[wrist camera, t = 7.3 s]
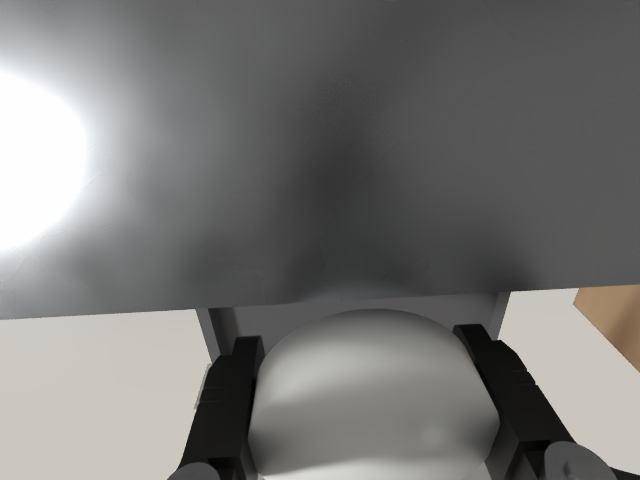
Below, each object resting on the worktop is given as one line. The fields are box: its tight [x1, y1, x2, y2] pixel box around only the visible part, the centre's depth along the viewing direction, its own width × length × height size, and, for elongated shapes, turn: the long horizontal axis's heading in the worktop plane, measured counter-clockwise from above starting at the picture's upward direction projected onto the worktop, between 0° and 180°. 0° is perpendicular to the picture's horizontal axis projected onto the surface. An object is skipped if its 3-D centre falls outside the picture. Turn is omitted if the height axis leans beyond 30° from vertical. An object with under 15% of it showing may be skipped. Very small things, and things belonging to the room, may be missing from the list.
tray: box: [194, 292, 511, 480], centre depth 14 cm, size 15×18×5 cm
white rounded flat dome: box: [248, 309, 500, 480], centre depth 9 cm, size 6×6×2 cm
